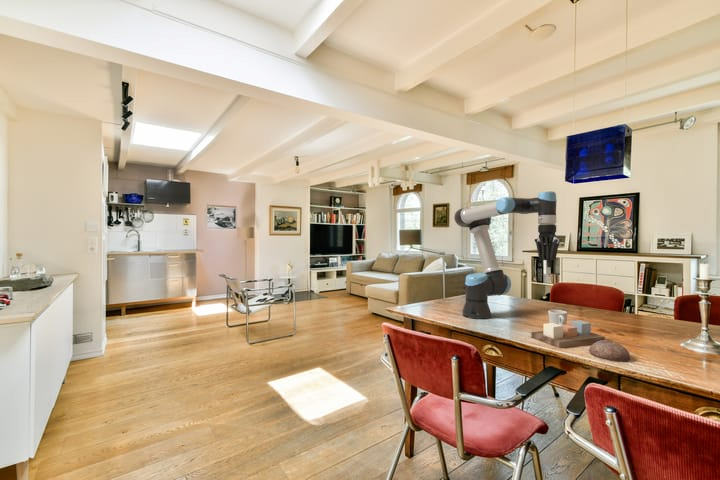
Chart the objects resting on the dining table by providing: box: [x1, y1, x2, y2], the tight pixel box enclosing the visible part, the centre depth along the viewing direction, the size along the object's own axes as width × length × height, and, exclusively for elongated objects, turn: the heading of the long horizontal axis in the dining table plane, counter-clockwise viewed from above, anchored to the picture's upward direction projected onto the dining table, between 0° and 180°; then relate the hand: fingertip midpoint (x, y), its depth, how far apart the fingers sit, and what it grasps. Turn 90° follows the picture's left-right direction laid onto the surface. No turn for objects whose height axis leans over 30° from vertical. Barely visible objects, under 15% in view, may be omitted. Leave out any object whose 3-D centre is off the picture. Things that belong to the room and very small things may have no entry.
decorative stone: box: [588, 339, 631, 363], centre depth 119 cm, size 12×12×6 cm
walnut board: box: [530, 330, 606, 349], centre depth 137 cm, size 14×24×2 cm, turn 106°
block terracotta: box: [561, 323, 577, 337], centre depth 137 cm, size 5×5×5 cm
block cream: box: [542, 322, 563, 339], centre depth 135 cm, size 5×5×5 cm
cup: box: [547, 309, 569, 325], centre depth 153 cm, size 11×8×8 cm
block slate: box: [570, 319, 592, 335], centre depth 139 cm, size 5×5×5 cm
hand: (547, 273), depth 152 cm, fingers closed
